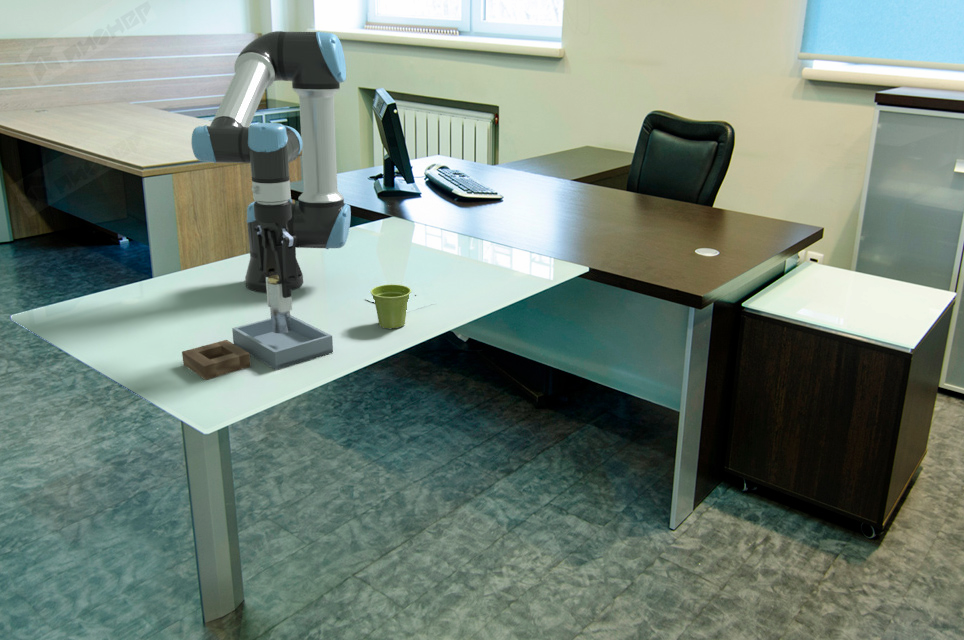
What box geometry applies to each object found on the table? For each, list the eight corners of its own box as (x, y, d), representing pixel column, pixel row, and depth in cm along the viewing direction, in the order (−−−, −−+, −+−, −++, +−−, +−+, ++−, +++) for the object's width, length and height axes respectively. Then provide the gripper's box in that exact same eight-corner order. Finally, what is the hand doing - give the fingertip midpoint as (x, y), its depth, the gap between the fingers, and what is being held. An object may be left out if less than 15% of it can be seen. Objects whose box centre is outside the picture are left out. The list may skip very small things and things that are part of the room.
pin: (284, 325, 180) (281, 273, 176) (294, 330, 178) (290, 277, 174) (268, 329, 178) (264, 277, 174) (278, 334, 175) (274, 281, 171)
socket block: (227, 352, 177) (226, 339, 176) (250, 366, 170) (249, 353, 169) (183, 364, 171) (181, 351, 169) (205, 380, 164) (204, 366, 163)
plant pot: (400, 334, 189) (399, 299, 186) (364, 328, 192) (363, 293, 189) (418, 321, 197) (417, 287, 194) (383, 315, 200) (382, 282, 197)
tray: (289, 329, 190) (288, 313, 189) (333, 352, 178) (332, 335, 177) (233, 345, 181) (232, 328, 180) (276, 370, 169) (274, 352, 168)
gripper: (235, 196, 171) (244, 301, 179) (277, 210, 160) (285, 322, 168) (267, 191, 176) (274, 294, 184) (310, 205, 165) (316, 314, 173)
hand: (279, 307), depth 176 cm, fingers closed on pin, 4 cm apart
